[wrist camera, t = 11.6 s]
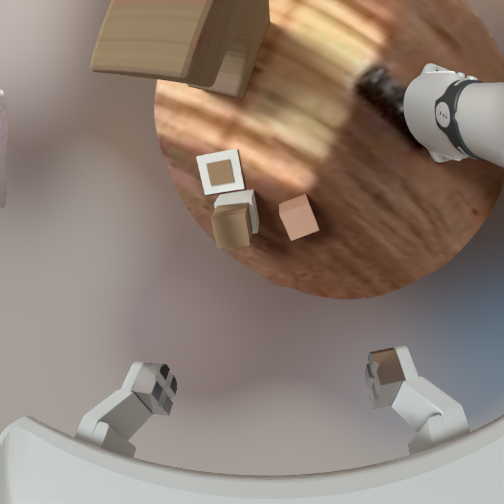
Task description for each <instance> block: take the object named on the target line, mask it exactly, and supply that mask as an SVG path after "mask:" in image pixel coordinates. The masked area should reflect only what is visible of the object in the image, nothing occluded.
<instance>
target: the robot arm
mask: <svg viewBox="0 0 504 504" xmlns="http://www.w3.org/2000/svg"><path fill="white" fill-rule="evenodd" d="M436 70H437V71H436ZM404 115H405V120H406V123H407V125H408V128H409V130H410V131H411V133H412V135H413V136H414V137H415V138H416V140H417V141H418V142H419V143H421V144H422V145H423V146H424V147H425V148H427V150H428V151H429V153H430V155H431V157H432V158H433V160H434V161H435V162H439V163H441V162H445V161H450V160H457V161H461V159H465V158H468V157H470V158H473V159H478V160H482V161H485V160H487V161H490V162H492V163H494V164H496V165H499V166H501V167H503V168H504V82H500V83H484V82H481V81H479V80H478V79H477V78H475V77H472V76H467V79H466V78H465V74H463V73H457V74H456V73H455V72H454V71H449V70H447V69H444V68H442V67H440V66H437V65H435V64H426V65H425V67H424V69H423V71H422V74H421V75H420V76H418V77H417V78H416V79H414V80H413V81H412V82H411V83H410V85H409V86H408V88H407V90H406V93H405V96H404ZM368 361H369V363H368V364H367V365H366V370H365V377H366V383H367V387H368V388H370V389H371V391H370V394H369V398H370V402H371V407H372V409H375V408H380V407H386V406H391V405H392V407H393V408H394V409H395V410H396V411H397V412H398V413H399V414H400V415H401V416H402V417H403V418H404V419H405V420H406V421H407V423H409V425H410V426H411V427H412V428H413V429H414V430H415V431H416V432H417V434H416V435H415V436H414V438H413V439H412V440H411V441H410V443H409V444H408V446H409V452H410V455H408V456H405V457H401V458H398V459H394V460H390V461H386V462H382V463H378V464H373V465H368V466H363V467H358V468H352V469H346V470H340V471H332V472H324V473H314V474H301V475H282V476H281V475H280V476H279V475H278V476H258V475H257V476H256V475H255V476H254V475H233V474H221V473H211V472H203V471H196V470H189V469H183V468H177V467H172V466H166V465H161V464H157V463H153V462H148V461H144V460H140V459H136V458H133V457H134V454H135V450H136V448H135V446H134V445H133V444H131V443H130V442H129V441H128V440H129V439H130V438H131V437H132V435H133V434H134V433H135V432H136V431H137V430H138V429H139V428H140V427H141V426H142V425H143V424H144V423H145V422H146V421H147V420H148V419H149V418H150V417H151V416H152V415H153V414H160V415H169V414H170V411H171V408H172V405H173V402H172V400H171V398H172V397H174V396H175V394H176V391H177V382H176V378H175V377H174V375H173V374H171V373H169V370H170V369H169V367H168V366H167V364H155V363H145V362H134V363H133V364H132V366H131V369H130V371H129V373H128V375H127V377H126V379H125V382H124V384H123V386H122V388H121V390H117V391H116V392H114V393H113V394H112V395H111V396H110V397H108V398H107V399H105V400H104V401H103V402H102V403H100V404H99V405H97V406H96V407H95V408H94V409H92V410H91V411H90V412H88V413H87V414H86V415H84V417H83V419H82V422H81V424H80V426H79V428H78V431H77V433H76V435H75V437H72V436H70V435H68V434H65V433H63V432H61V431H59V430H57V429H54V428H52V427H50V426H48V425H46V424H44V423H42V422H40V421H38V420H37V419H35V418H33V417H31V416H24V417H21V418H20V419H18V420H17V421H15V422H13V423H12V424H10V425H9V426H7V427H6V428H5V429H4V431H3V432H2V434H1V435H0V504H504V415H503V416H501V417H499V418H497V419H495V420H494V421H492V422H490V423H488V424H486V425H484V426H482V427H480V428H478V429H476V430H474V431H472V432H470V429H469V426H468V423H467V420H466V417H465V414H464V411H463V409H462V406H461V405H460V404H459V403H457V402H456V401H454V400H453V399H452V398H451V397H449V396H448V395H446V394H445V393H444V392H443V391H441V390H440V389H438V388H437V387H436V386H434V385H433V384H432V383H430V382H429V381H428V380H426V379H425V378H423V377H419V376H418V374H417V371H416V368H415V366H414V363H413V360H412V358H411V355H410V353H409V350H408V348H407V347H406V346H405V345H404V346H400V347H395V348H389V349H384V350H379V351H374V352H370V353H369V355H368Z"/></svg>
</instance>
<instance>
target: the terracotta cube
mask: <svg viewBox="0 0 504 504" xmlns="http://www.w3.org/2000/svg"><path fill="white" fill-rule="evenodd" d="M279 215H280V217H281V219H282V221H283V224H284V226H285V228H286V230H287V233H288V235H289V237H290V239H291V241H292V240H295V239H297V238H300V237H303V236H305V235H308V234H311V233H313V232H316V231H319V227H318V224H317V221H316V218H315V216H314V213H313V211H312V208H311V206H310V203H309V201H308V198H307V196H306V194H304V195H301V196H299V197H296V198H294V199H291V200H289V201H286V202H283V203H281V204H279Z"/></svg>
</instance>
